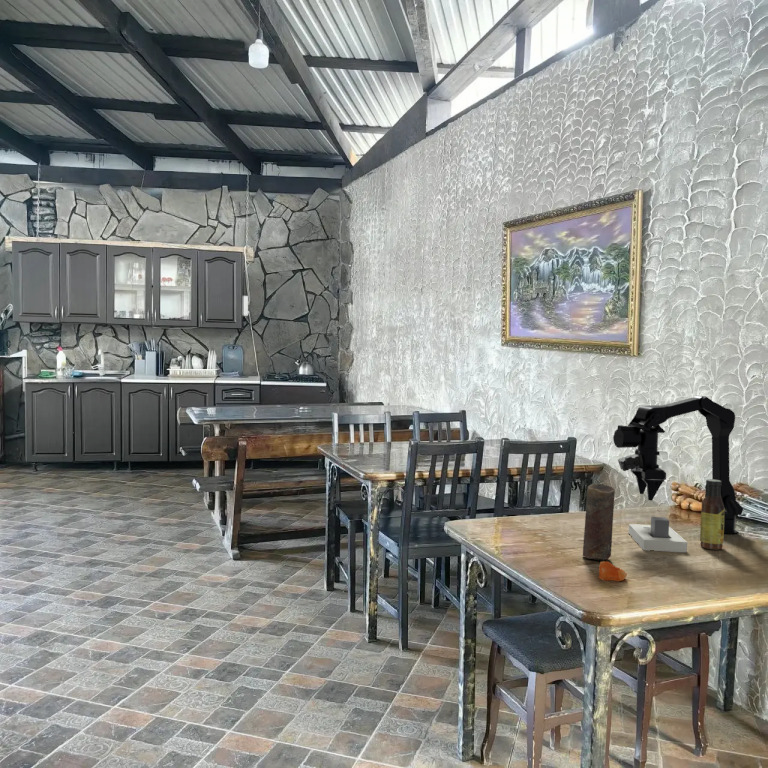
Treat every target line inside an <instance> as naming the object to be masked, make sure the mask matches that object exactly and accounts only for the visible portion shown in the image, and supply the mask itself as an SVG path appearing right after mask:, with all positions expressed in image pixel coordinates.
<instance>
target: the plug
mask: <svg viewBox="0 0 768 768" xmlns="http://www.w3.org/2000/svg"><path fill="white" fill-rule="evenodd" d="M650 525H651V532H650V536H651V537H655V538H668V536H669V527H670V519H668V518H667V517H666V516H665V517H663V516H662V517H661V516H651V517H650Z"/></svg>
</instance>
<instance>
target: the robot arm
mask: <svg viewBox="0 0 768 768" xmlns="http://www.w3.org/2000/svg"><path fill="white" fill-rule="evenodd" d="M697 411H698V413H699V414H700V415H701V416H703V417H704V418H705V422H706V427H707V429H708V431H709V432H710V433H709V434H711V464H712V466H711V470H712V471H711V473H712V474H711V475H712V477H711V479H714V480H720V481H721V490H720V494H721V498H722V501H723V504H724V508H725V513H724V534H732V533H734V534H736V535H737V533H739V534H740V532H739V531H738V530H736V517H737V516H741V515H742V514H743V511H744V508H743V506H741V504H740V503H739V502H738V501H737V497H736V491H735V489H734V486H733V484H732V483H731V481H730V435H731V433H732V432H733V429H734V427H735V421H736V413H735V412H734V411H733V410H732V409H730V408H726V407H725V406H722V405H721V404H718V403H717V402H715V401H714V400H711V399H710V397H708V396H706V395H705V396H703V395H695V396H693V397H689V398H685V399H683V400H677V401H674V402H670V403H667V404H662V405H661V404H660V405H642V406H639V407H638V408H637V410H636V412H635V415H634V416H633V418H632V419H631V420H630V422H629V423H628V424H627V425H623V424H622V425H619V424H618V425H617V429H616V430H615V431H614V434H613V436H612V439H613V443H614V445H615V447H616V448H618V449H620V448H622V449H624V448H636V449H635V450H634V454H633V453H632V454H629V455H627V456H623V457H621V458H618V459H617V462H618V464H619V468H620V469H621V470H622V471H624V472H627V471H629V470H630V473H632V474H633V475H634V476H635V478H636V479H635V480H636V483H637V488H638V492H639V493H638V494H640V495H644V493H645V491H646V493H647V500H648V501H653V500H654V498H655V496H656V494H657V492H658V491H659V489H660V488H661V486H662V484H663V483H664V482H665V480H667V472H666V471H665V470H664V469H662V468H660V465H659V464H658V456H660V451H659V450H658V448H659V447H658V444H659V443H658V442H659V434H664V433H666V430H664V429H663V428H662V426H661V425H662V424H664V423H665V422H667V420H669V419H671V418H674V417H675V418H676V417H678V416H682V415H684V414H685V415H686V414H690V413H693V412H697ZM704 489H705V495H704V498H705V497H706V495H707V494H706V492H707V485H706V484H705V486H704Z"/></svg>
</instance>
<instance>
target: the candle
mask: <svg viewBox="0 0 768 768" xmlns="http://www.w3.org/2000/svg"><path fill="white" fill-rule="evenodd" d="M586 489H587V490H586V504H585V516H584V517H585V519H584V522H585V523H584V530H583V531H584V533H583V544H582V556H583V557H585V558H586V559H590V560H595V561H600V562H604V561H605V560H608V559H609V558H611V556H612V544H613V543H612V542H613V525H614V524H613V523H614V521H613V520H614V512H615V511H614V508H615V507H614V506H615V493H616V490H615V488H614V487H613V486H611V485H608V484H601V483H597V484H596V483H591V484H590V485H588V486H587V488H586Z"/></svg>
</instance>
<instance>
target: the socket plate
mask: <svg viewBox="0 0 768 768" xmlns="http://www.w3.org/2000/svg"><path fill="white" fill-rule="evenodd" d="M650 532H651V524H639V523H637V524H636V523H629V524H628V533H627V534H628V535H629V534H630V535H631V536H632V537H633V538H632V537H631V536H630V535H629V536H630V537H631V538H632V539H633V540H634V542H636V544H637V543H638V544H639V545H638V544H637V545H638V546H639V547H640V548H641V550H643V551H650V550H654V552H671V553H687V552H688V541H687V540H685V539H684V538H683V537H682V536H681V535H680V534H679V533H677V532H676V531H675V530H674V529H673V528H672V527H671V526H669V536H668V538H655V537H651V536H650Z"/></svg>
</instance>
